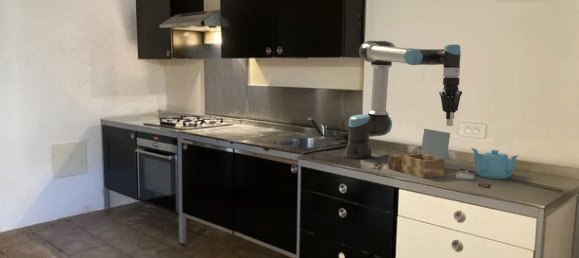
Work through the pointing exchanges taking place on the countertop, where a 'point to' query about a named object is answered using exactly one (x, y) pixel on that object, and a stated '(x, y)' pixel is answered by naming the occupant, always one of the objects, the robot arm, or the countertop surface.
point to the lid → (435, 143)
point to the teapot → (494, 164)
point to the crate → (422, 165)
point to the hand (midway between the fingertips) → (449, 125)
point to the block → (394, 162)
